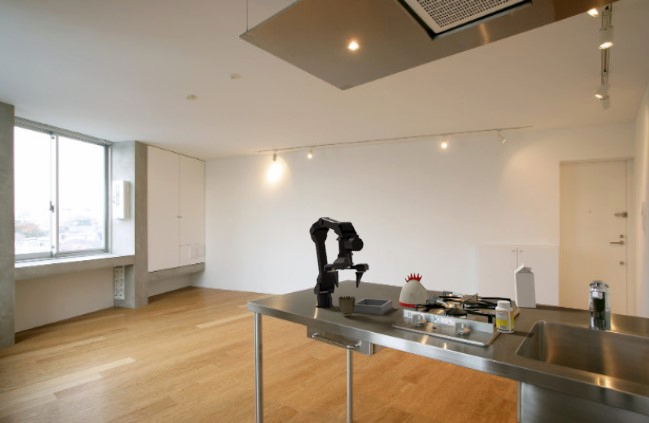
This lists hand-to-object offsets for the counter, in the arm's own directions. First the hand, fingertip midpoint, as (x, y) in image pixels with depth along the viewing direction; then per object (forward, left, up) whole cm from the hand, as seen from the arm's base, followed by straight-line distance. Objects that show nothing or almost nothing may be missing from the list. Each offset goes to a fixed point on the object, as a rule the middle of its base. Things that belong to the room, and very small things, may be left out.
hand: (347, 287), depth 149 cm
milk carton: (+66, +45, -12) cm, 81 cm away
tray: (+6, +14, -12) cm, 19 cm away
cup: (0, 0, -12) cm, 12 cm away
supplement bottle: (+59, +2, -12) cm, 61 cm away
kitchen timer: (+20, +32, -12) cm, 40 cm away
